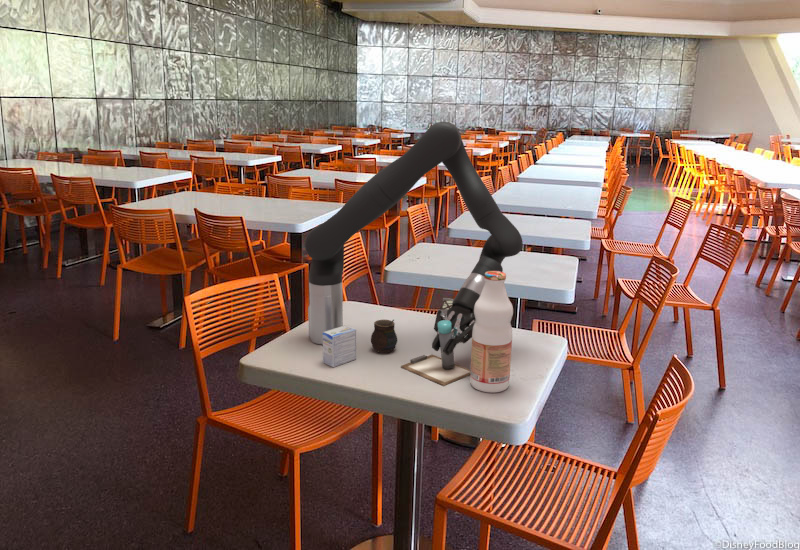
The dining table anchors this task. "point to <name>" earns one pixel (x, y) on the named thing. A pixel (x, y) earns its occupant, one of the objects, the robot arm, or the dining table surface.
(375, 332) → the mate gourd
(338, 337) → the medicine box
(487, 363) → the fruit juice
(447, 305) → the food container
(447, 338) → the ball
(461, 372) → the clipboard
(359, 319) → the dining table surface
